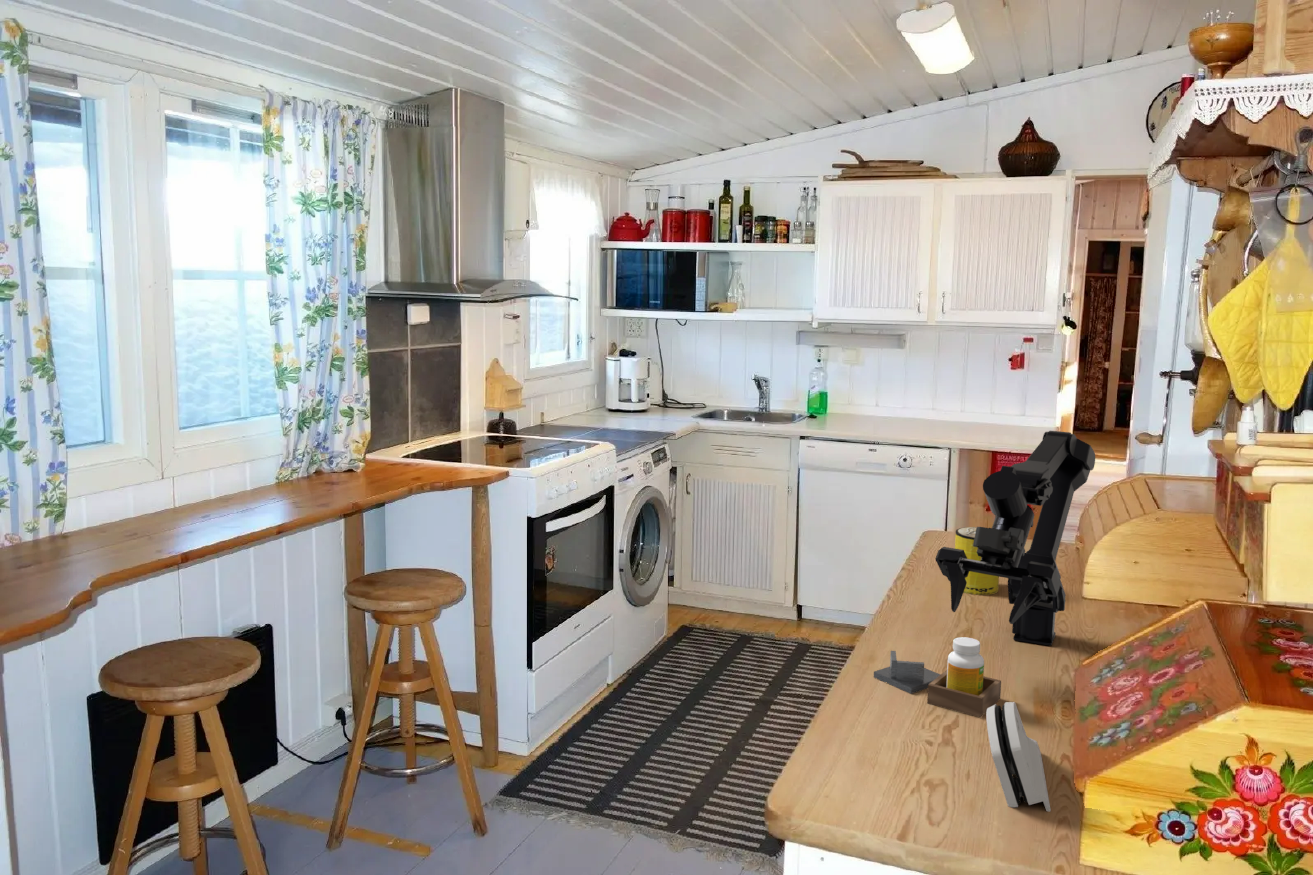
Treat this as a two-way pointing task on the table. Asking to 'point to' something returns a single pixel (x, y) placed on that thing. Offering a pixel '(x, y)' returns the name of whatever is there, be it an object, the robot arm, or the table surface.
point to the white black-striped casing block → (1016, 757)
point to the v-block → (906, 675)
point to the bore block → (964, 696)
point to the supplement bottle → (965, 666)
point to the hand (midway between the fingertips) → (981, 616)
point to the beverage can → (977, 581)
